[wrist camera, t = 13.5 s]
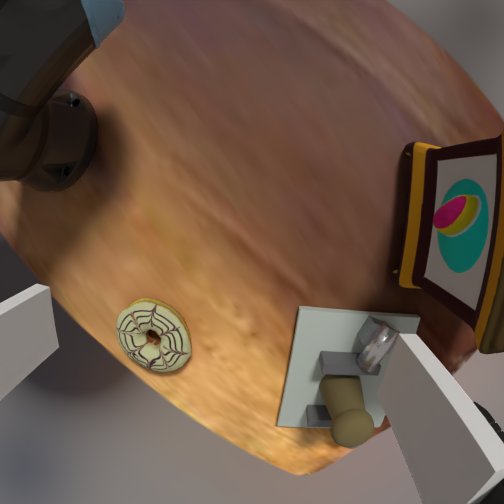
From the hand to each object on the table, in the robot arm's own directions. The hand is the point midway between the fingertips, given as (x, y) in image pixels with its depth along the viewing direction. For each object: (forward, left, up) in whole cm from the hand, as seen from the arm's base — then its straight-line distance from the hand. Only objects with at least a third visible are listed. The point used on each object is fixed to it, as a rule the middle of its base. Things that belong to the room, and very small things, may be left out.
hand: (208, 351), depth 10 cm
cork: (+14, -19, -26) cm, 35 cm away
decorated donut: (-12, -15, -28) cm, 34 cm away
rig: (+15, -18, -27) cm, 36 cm away
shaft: (+17, -11, -26) cm, 33 cm away
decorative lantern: (+26, +5, -28) cm, 38 cm away
